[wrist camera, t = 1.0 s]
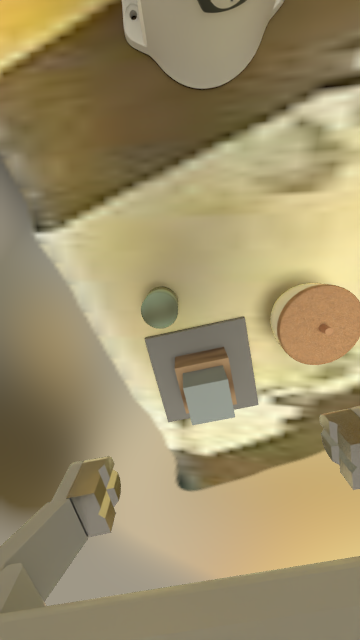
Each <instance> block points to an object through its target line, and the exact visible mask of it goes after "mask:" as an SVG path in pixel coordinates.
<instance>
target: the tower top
mask: <svg viewBox="0 0 360 640" xmlns="http://www.w3.org/2000/svg"><path fill="white" fill-rule="evenodd" d="M183 390H184V394H185V398H186V402H187V406H188V410H189V414H190V418H191V422H192V425H196V424H202V423H207V422H212V421H217V420H223V419H228V418H233V417H235V414H234V409H233V403H232V398H231V393H230V388H229V383H228V378H227V376H226V373H225V370H224V367H223V365H221V366H216V367H211V368H206V369H201V370H197V371H192V372H187V373H183Z"/></svg>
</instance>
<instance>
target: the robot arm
mask: <svg viewBox="0 0 360 640" xmlns="http://www.w3.org/2000/svg"><path fill="white" fill-rule="evenodd" d="M283 2H284V0H122V10H123V24H124V33H125V38H126V40H127V42H128V43H129V44H130V45H131V46H132V47H133V48H135V49H137V50H139V51H141V52H143V53H145V54H148V55H149V56H151V57H152V58H153V59H154V60H155V61H156V62H157V64H158V65H159V66H160V67H161V68H162V70H163V71H164V72H165V73H166V74H168V75H169V76H170V77H171V78H173V79H174V80H175V81H177V82H179V83H181V84H183V85H185V86H188V87H192V88H199V89H207V88H213V87H217V86H220V85H222V84H225V83H227V82H229V81H230V80H232V79H233V78H235V77H236V76H237V75H238V74H239V73H241V72H242V71H243V70H244V68H245V67H246V66H247V65H248V64H249V62H250V61H251V59H252V58H253V56H254V55H255V53H256V51H257V49H258V47H259V45H260V42H261V40H262V37H263V34H264V31H265V29H266V26H267V24H268V22H269V20H270V19H271V18H272V17H273V15H274V14H275V13H276V12H277V11H278V9H279V8H280V7H281V5H282V4H283ZM132 16H137V18H136V19H135V20H132V19H131V17H132ZM320 424H321V425H322V427H323V428H324V430H323V431H322V433H321V436H322V442H323V445H324V448H325V450H326V452H327V454H328V455H329V457H330V458H331V460H332V461H333V462H335V463H337V464H339V465H340V472H341V474H342V475H343V476H344V478H345V479H346V481H347V482H348V483H349V485H350V486H351V487H352V488H353V490H355V489H360V406H357V407H353V408H348V409H345V410H340V411H335V412H330V413H325V414H321V415H320ZM113 466H114V462H113V460H112V457H110V456H107V457H102V458H95V459H89V460H85V461H79V462H74V463H72V464H71V465H70V466H69V468H68V470H67V472H66V474H65V476H64V478H63V480H62V482H61V484H60V486H59V488H58V490H57V491H56V493H55V496H54V497H53V499H52V501H51V502H49V503H46V504H45V505H44V506H43V507H42V508H41V509H40V510H39V511H38V512H37V513H36V514H35V515H34V516H32V517H31V518H30V519H29V520H28V521H27V522H26V523H25V524H24V525H23V526H22V527H21V528H20V529H19V530H17V531H16V533H14V534H13V535H12V536H11V537H10V538H9V539H8V540H7V541H6V542H5V543H3V545H1V546H0V640H360V556H359V557H352V558H345V559H340V560H333V561H327V562H321V563H314V564H309V565H302V566H296V567H290V568H284V569H277V570H271V571H265V572H259V573H253V574H246V575H240V576H234V577H227V578H221V579H215V580H208V581H202V582H196V583H189V584H184V585H177V586H170V587H164V588H158V589H151V590H146V591H139V592H133V593H127V594H120V595H114V596H108V597H101V598H95V599H89V600H83V601H76V602H71V603H64V604H58V605H51V606H46V604H45V600H46V599H47V597H48V596H49V594H50V593H51V592H52V590H53V589H54V587H55V586H56V584H57V583H58V581H59V580H60V579H61V577H62V576H63V574H64V573H65V571H66V570H67V568H68V567H69V566H70V564H71V563H72V561H73V560H74V558H75V557H76V555H77V554H78V553H79V551H80V550H81V548H82V547H83V545H84V544H85V542H86V541H87V540H88V538H87V537H92V536H97V535H101V534H106V533H111V530H112V526H113V522H114V518H115V514H116V512H115V510H114V506H115V505H116V503H117V502H118V501H119V498H120V493H121V484H120V477H119V475H118V472H116V471H115V470H113Z"/></svg>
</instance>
